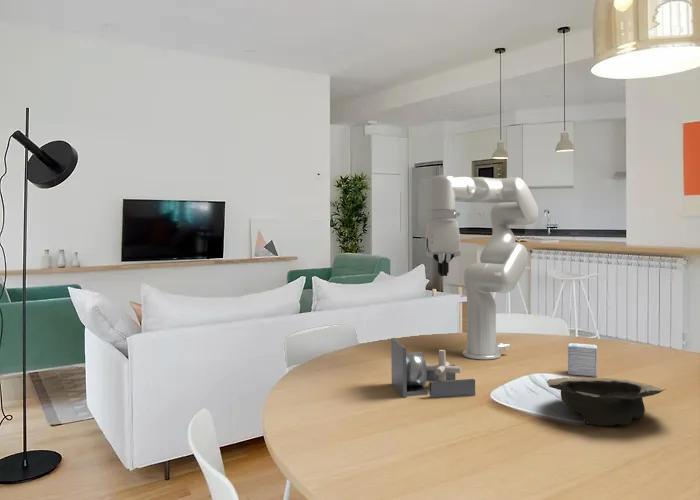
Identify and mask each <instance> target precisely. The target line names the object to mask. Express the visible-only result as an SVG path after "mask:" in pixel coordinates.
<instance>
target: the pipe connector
mask: <svg viewBox="0 0 700 500" xmlns="http://www.w3.org/2000/svg"><path fill="white" fill-rule="evenodd" d="M446 356H447V355H446V350H445V349H439V350H438V364H431V363H430V364H429V363H426V369H427V371H435V374H436V375H439V380H438V381H445V380H446V372H450V373H455V374H461V373H462V367H461V366H457V365H455V366H450V365H451V363H449V361H446V360H447V359H446V358H447V357H446Z"/></svg>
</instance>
